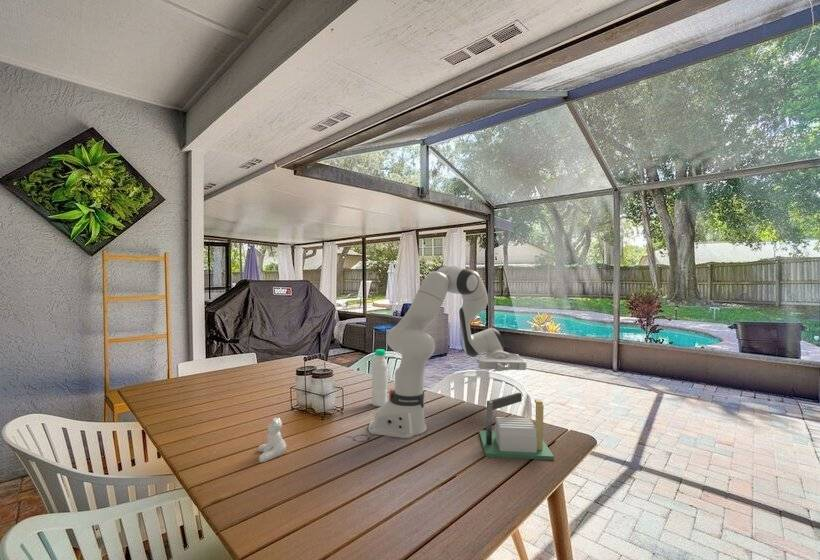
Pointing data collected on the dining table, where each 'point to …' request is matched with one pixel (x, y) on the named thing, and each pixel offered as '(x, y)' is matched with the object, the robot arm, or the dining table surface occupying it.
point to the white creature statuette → (273, 442)
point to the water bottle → (379, 379)
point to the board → (504, 454)
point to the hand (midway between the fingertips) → (505, 368)
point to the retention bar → (495, 405)
